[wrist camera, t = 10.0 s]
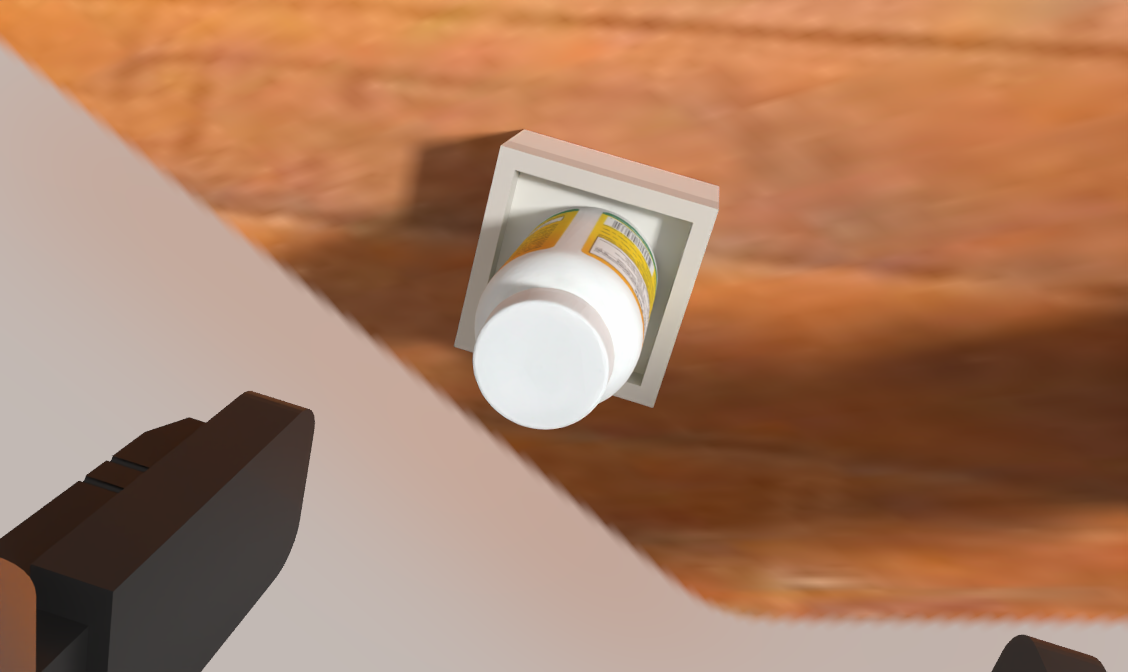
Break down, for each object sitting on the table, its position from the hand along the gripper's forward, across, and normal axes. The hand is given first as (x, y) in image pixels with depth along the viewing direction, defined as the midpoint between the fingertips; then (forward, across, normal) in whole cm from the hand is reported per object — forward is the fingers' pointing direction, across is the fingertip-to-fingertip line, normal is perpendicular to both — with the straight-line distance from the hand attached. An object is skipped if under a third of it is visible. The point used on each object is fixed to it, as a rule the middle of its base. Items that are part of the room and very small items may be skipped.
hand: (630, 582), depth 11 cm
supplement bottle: (+25, +3, +5) cm, 26 cm away
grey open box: (+28, +4, +5) cm, 29 cm away
